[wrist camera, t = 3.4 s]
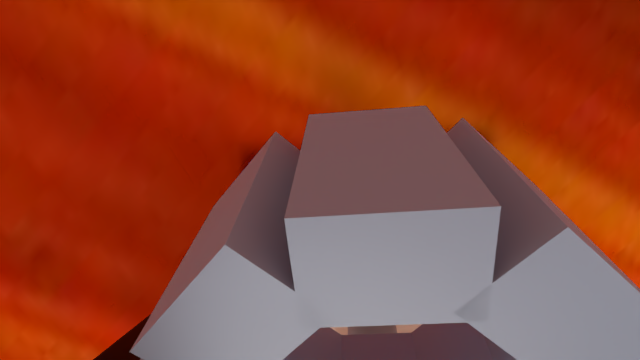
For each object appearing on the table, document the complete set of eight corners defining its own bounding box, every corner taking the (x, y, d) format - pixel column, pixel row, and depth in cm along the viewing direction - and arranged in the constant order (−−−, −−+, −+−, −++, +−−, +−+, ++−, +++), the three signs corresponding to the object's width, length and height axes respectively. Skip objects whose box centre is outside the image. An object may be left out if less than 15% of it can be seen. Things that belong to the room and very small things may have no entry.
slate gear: (519, 373, 9) (609, 566, 6) (244, 380, 10) (199, 562, 7) (567, 94, 7) (774, 191, 3) (181, 124, 7) (54, 231, 4)
